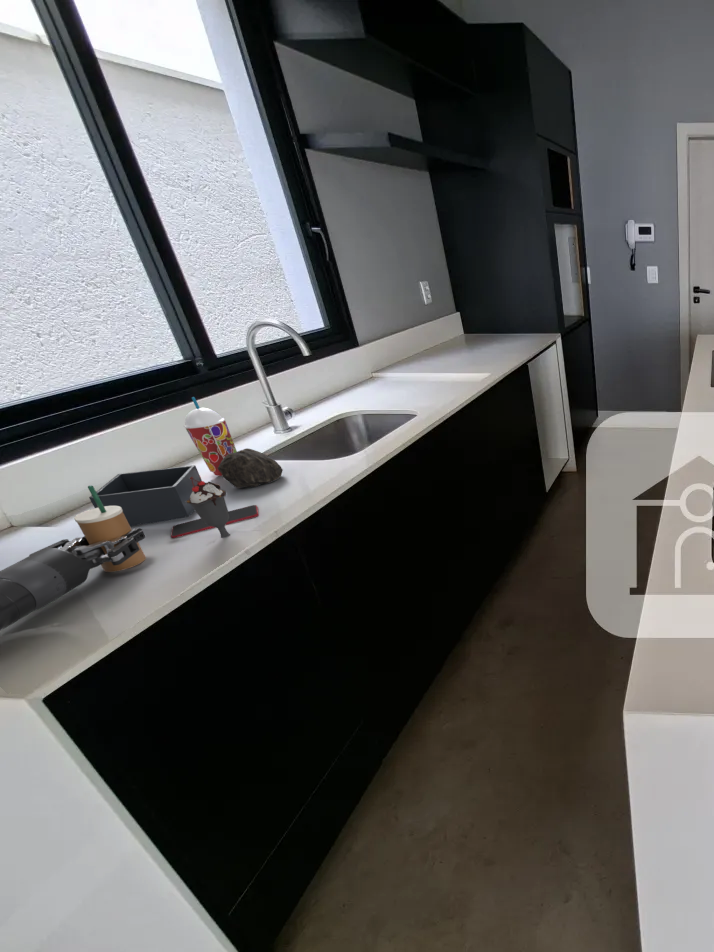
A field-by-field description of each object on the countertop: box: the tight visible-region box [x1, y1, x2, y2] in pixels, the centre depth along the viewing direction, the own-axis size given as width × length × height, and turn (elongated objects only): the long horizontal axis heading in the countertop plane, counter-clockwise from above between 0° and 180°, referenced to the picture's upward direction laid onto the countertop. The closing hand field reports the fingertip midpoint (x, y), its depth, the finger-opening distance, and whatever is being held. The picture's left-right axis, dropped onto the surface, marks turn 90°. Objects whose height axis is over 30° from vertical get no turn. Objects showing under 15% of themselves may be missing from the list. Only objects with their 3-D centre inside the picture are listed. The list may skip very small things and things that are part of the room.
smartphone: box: [170, 504, 259, 539], centre depth 122 cm, size 7×1×15 cm
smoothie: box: [183, 396, 238, 477], centre depth 144 cm, size 8×8×20 cm
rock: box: [218, 447, 284, 489], centre depth 140 cm, size 10×11×10 cm
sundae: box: [185, 477, 231, 539], centre depth 112 cm, size 7×7×15 cm
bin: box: [88, 464, 203, 527], centre depth 126 cm, size 14×14×8 cm
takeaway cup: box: [73, 484, 147, 573], centre depth 103 cm, size 6×6×17 cm
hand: (122, 532), depth 106 cm, fingers closed on takeaway cup, 6 cm apart
